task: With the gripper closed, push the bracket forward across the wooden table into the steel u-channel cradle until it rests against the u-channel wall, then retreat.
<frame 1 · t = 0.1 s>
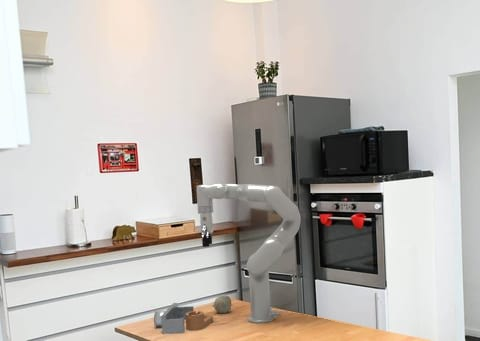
hand: (207, 245, 233), 37 cm above the table, tool pointing down, fingers open, 9 cm apart
steel u-channel: (170, 325, 228), on the table
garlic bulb: (222, 313, 247), on the table
bracket: (200, 325, 227), on the table
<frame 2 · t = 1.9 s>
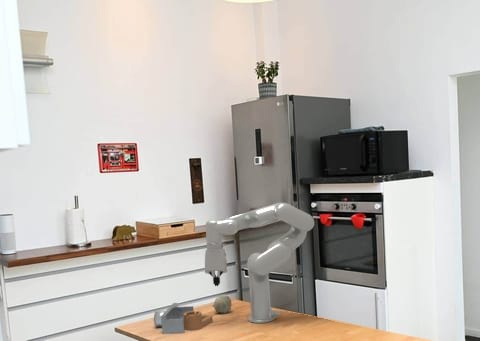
hand: (216, 285, 227), 18 cm above the table, tool pointing down, fingers closed
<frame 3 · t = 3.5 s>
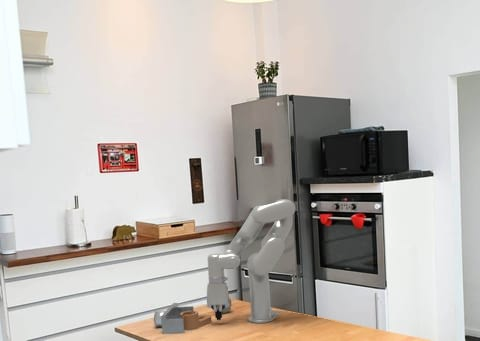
hand: (218, 319, 226), 2 cm above the table, tool pointing down, fingers closed
bracket: (196, 325, 228), on the table
everything else where it was.
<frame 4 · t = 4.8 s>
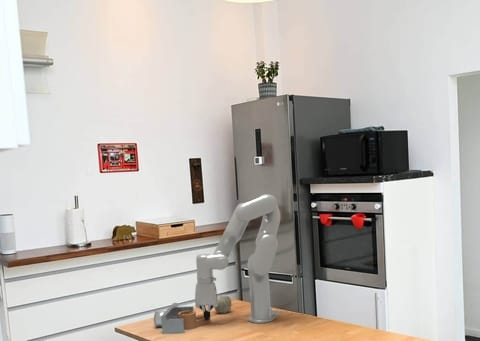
hand: (207, 319, 227), 2 cm above the table, tool pointing down, fingers closed
bracket: (194, 325, 228), on the table, touching gripper
everything else where it was.
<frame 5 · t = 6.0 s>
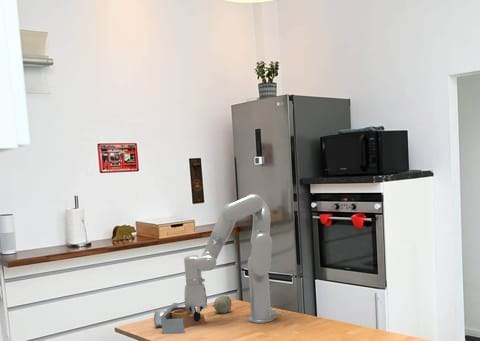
hand: (197, 320, 227), 2 cm above the table, tool pointing down, fingers closed
bracket: (188, 324, 230), on the table, touching steel u-channel, gripper
everything else where it was.
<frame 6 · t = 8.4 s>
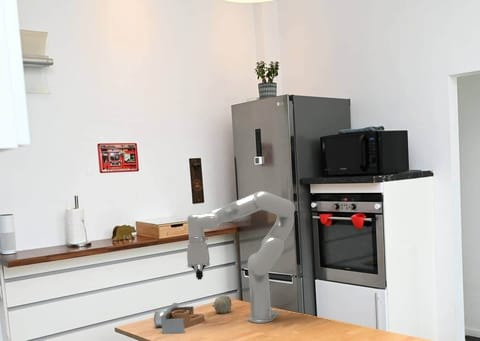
hand: (199, 279, 228), 21 cm above the table, tool pointing down, fingers closed
bracket: (188, 324, 230), on the table
everything else where it was.
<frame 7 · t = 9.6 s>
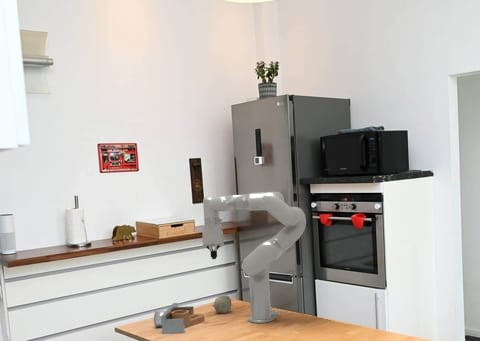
hand: (214, 258, 239), 29 cm above the table, tool pointing down, fingers closed
nothing on the table moved.
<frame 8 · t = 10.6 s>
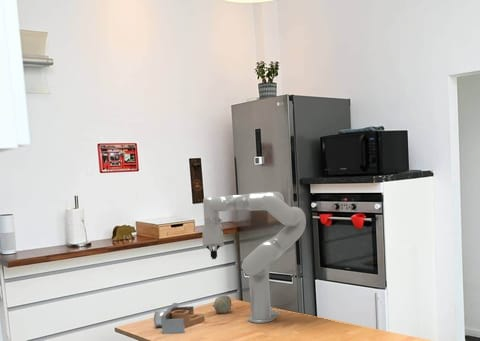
hand: (214, 258, 239), 29 cm above the table, tool pointing down, fingers closed
nothing on the table moved.
at the end: bracket inside the target area (4.1 cm from its centre), on the table; bracket moved 6.6 cm from its start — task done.
